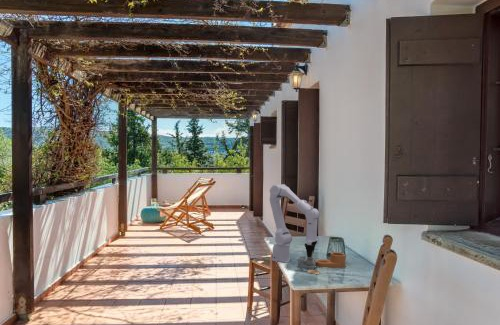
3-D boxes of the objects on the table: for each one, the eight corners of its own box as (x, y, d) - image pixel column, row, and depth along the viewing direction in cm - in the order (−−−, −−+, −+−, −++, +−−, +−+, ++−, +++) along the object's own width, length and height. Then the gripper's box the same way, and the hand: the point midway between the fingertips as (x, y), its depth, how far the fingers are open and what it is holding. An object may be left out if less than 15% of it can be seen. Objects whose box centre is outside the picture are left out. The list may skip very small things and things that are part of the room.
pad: (307, 273, 208) (307, 272, 208) (308, 270, 214) (308, 269, 214) (318, 274, 206) (318, 274, 206) (320, 271, 212) (320, 270, 212)
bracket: (341, 264, 230) (342, 252, 230) (347, 268, 222) (347, 256, 222) (311, 264, 227) (312, 252, 227) (316, 268, 219) (317, 255, 219)
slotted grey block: (306, 264, 217) (307, 251, 217) (307, 262, 222) (308, 249, 222) (311, 265, 216) (312, 251, 216) (313, 262, 221) (313, 249, 221)
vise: (296, 269, 214) (296, 260, 214) (299, 264, 224) (300, 255, 224) (315, 271, 211) (315, 263, 211) (317, 266, 222) (318, 258, 221)
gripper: (317, 233, 211) (315, 259, 211) (320, 229, 225) (319, 253, 225) (304, 232, 213) (302, 257, 213) (308, 228, 227) (306, 251, 227)
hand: (310, 255), depth 219 cm, fingers open, 7 cm apart
